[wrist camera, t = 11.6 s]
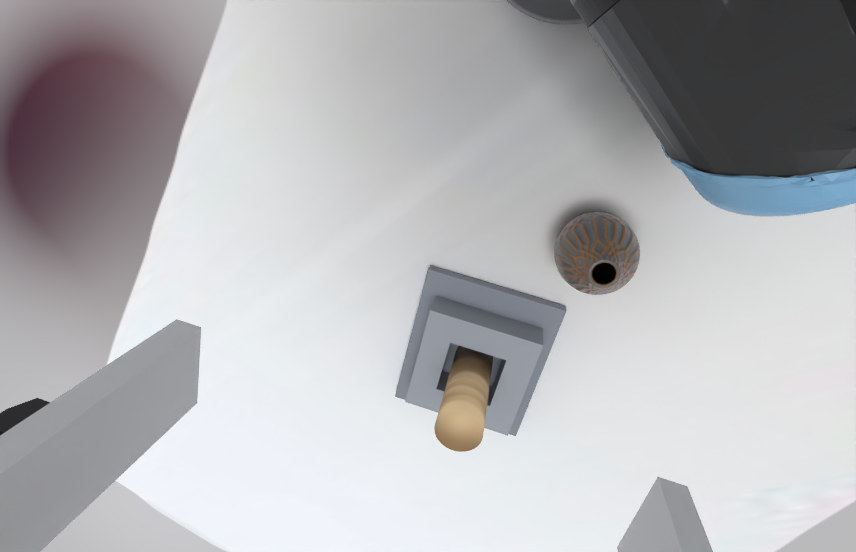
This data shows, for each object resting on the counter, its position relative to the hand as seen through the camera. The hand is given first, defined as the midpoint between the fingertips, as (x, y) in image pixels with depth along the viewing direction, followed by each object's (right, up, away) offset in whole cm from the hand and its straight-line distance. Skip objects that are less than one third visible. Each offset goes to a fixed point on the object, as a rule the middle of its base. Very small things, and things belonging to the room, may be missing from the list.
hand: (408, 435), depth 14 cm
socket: (+6, -4, +38) cm, 39 cm away
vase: (+16, +8, +32) cm, 36 cm away
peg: (+5, -4, +37) cm, 38 cm away
